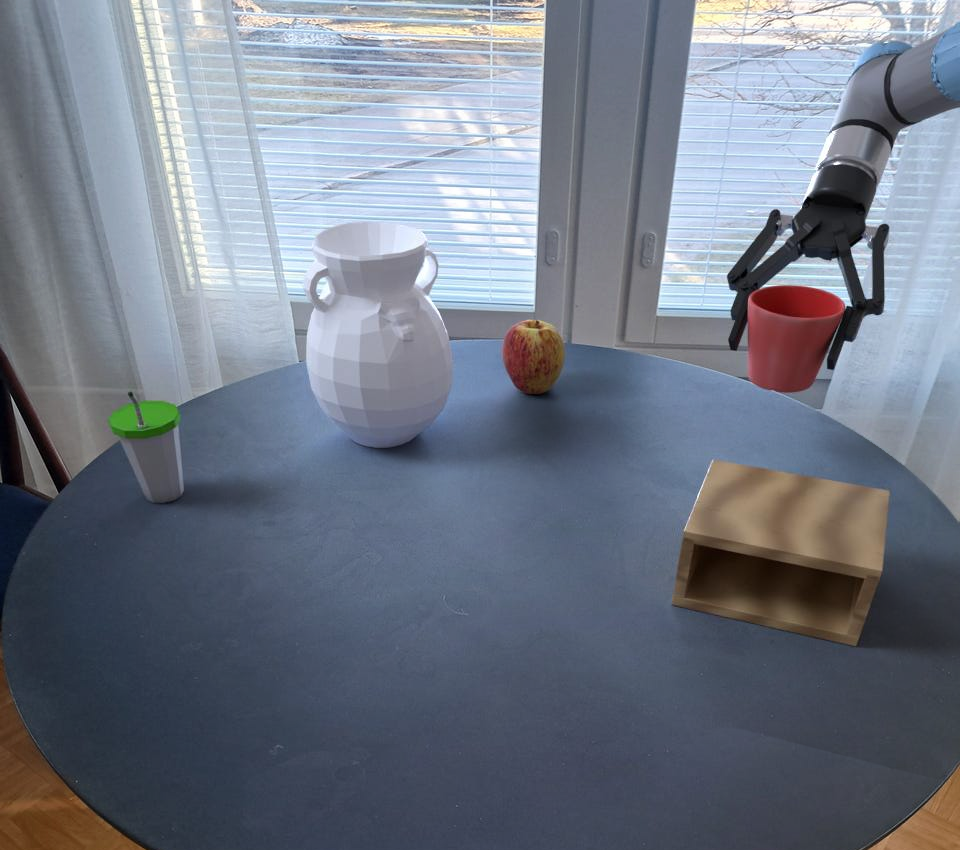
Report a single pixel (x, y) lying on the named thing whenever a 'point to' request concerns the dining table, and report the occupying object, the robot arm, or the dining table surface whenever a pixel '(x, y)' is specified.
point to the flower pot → (790, 335)
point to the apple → (533, 356)
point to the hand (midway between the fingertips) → (780, 354)
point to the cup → (152, 446)
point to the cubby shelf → (783, 551)
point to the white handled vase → (376, 333)
